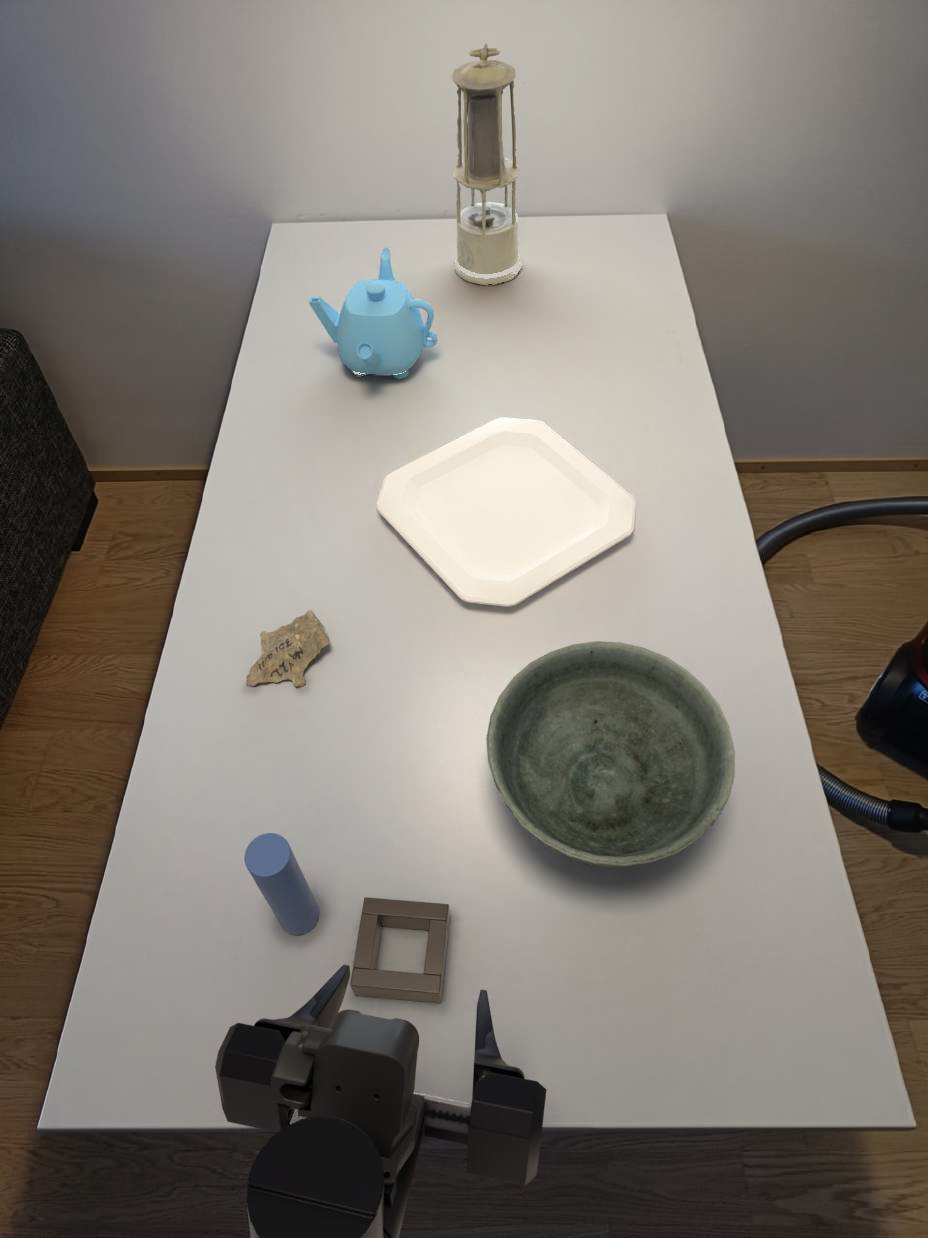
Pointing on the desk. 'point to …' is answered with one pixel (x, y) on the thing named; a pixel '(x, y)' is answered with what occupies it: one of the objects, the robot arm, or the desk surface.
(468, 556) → the plate
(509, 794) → the bowl
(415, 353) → the teapot
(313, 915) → the blue tall cylinder
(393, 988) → the frame
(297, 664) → the artifact
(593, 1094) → the desk surface
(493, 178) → the lamp
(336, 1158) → the robot arm
